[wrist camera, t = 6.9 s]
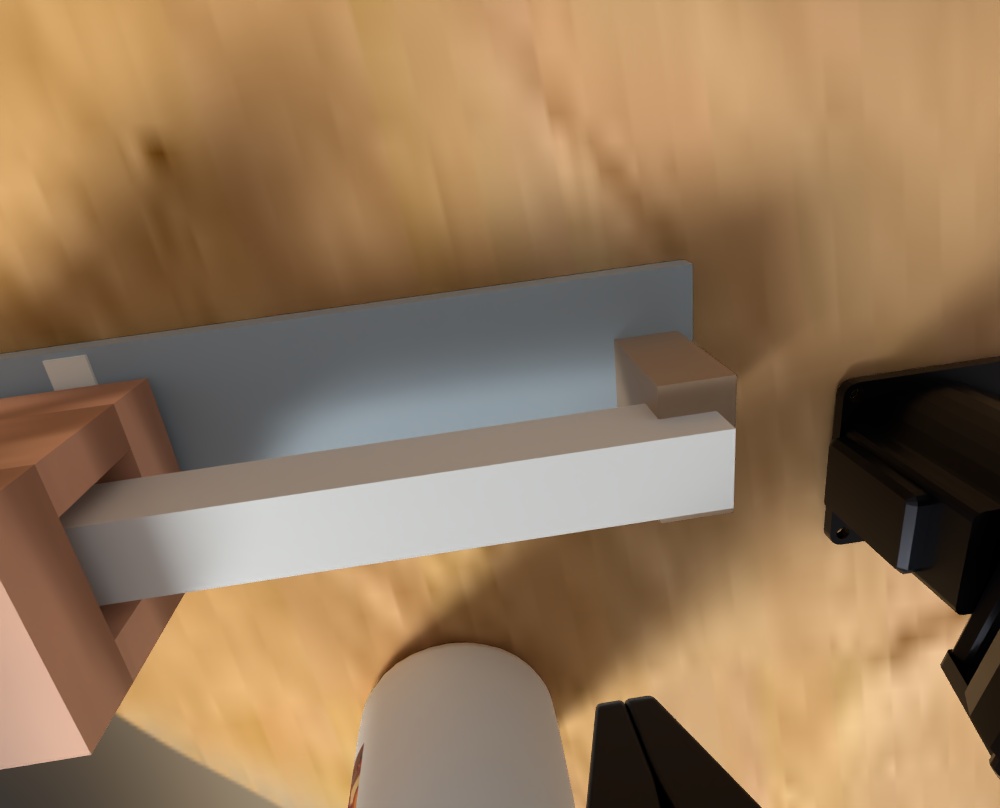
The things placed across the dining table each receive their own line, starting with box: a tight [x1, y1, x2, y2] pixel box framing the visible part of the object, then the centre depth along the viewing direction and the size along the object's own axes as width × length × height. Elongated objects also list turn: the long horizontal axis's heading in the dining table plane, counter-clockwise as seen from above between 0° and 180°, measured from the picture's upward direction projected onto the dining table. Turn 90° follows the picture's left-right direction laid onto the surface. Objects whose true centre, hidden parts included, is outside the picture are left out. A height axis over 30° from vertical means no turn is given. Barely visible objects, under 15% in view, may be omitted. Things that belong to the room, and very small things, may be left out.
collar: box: [0, 378, 185, 769], centre depth 16 cm, size 5×6×7 cm
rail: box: [0, 260, 737, 606], centre depth 18 cm, size 25×8×6 cm, turn 96°
